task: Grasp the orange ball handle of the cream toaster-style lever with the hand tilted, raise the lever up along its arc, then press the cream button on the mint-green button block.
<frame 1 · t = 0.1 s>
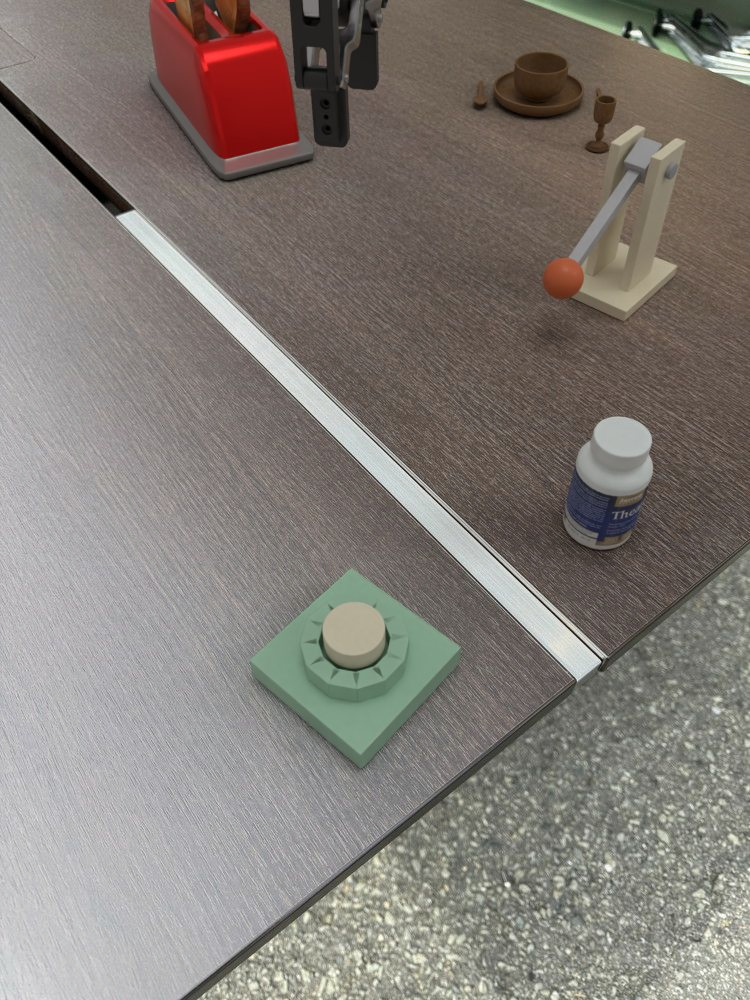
hand: (348, 114, 57), 25 cm above the table, tool pointing down, fingers open, 8 cm apart
place setting: (539, 115, 110), on the table
button: (354, 634, 54), point 5 cm above the table, slide at 0.2 cm
bracket: (615, 282, 86), on the table
lever: (602, 221, 76), point 10 cm above the table, hinge at -30.0°
button block: (356, 670, 57), on the table
pill bottle: (596, 526, 65), on the table
toaster: (227, 119, 111), on the table
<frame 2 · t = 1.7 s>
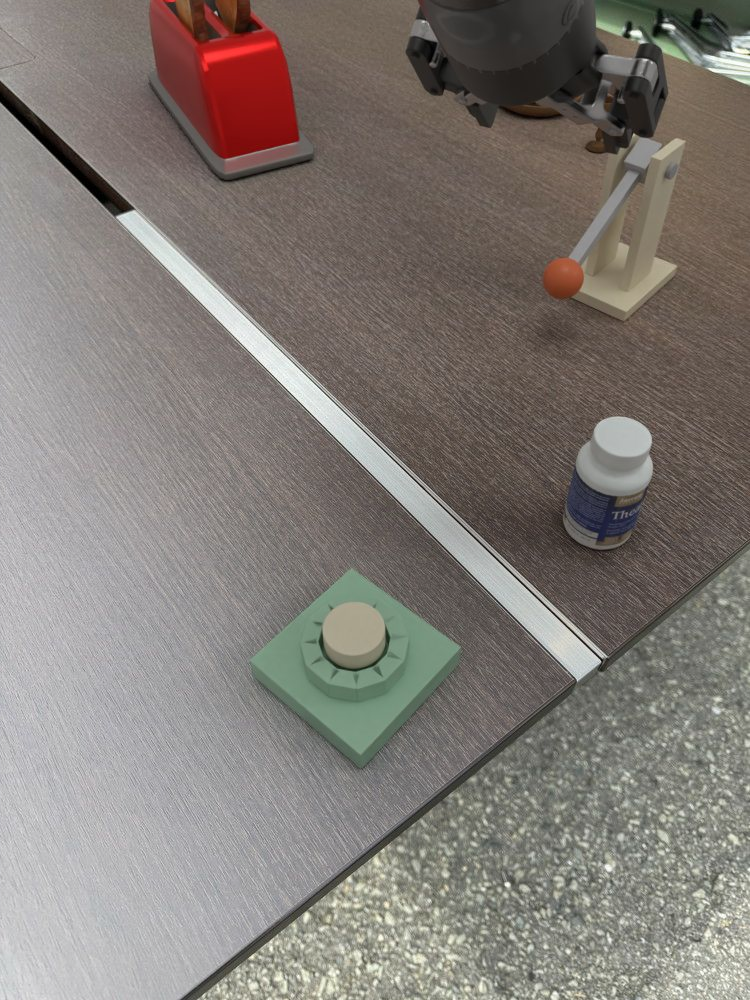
hand: (552, 125, 54), 25 cm above the table, tool tilted 45°, fingers open, 8 cm apart
nothing on the table moved.
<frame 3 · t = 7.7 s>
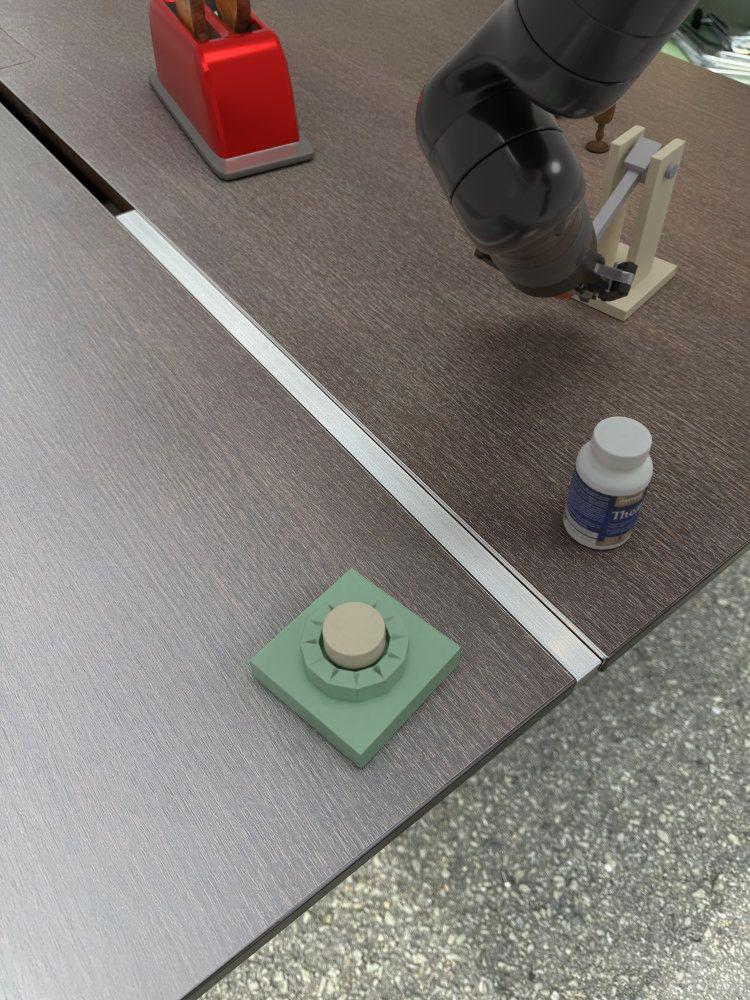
hand: (566, 285, 78), 5 cm above the table, tool tilted 45°, fingers closed on lever, 3 cm apart
lever: (602, 221, 76), point 10 cm above the table, hinge at -30.0°, touching gripper
everything else where it was.
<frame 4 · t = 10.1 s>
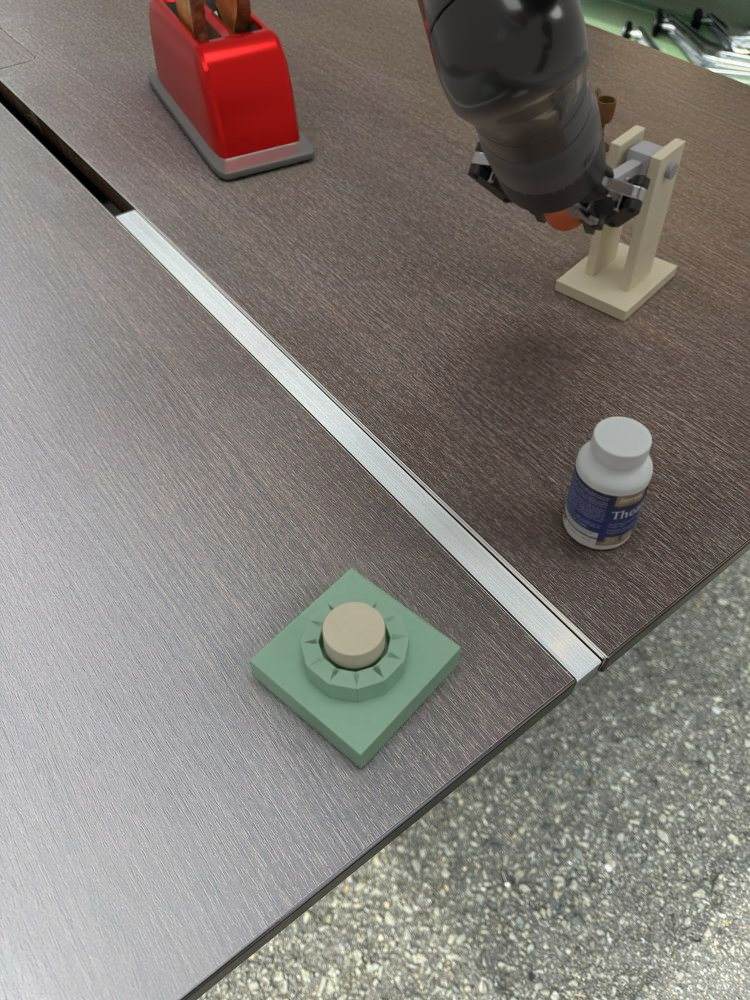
hand: (569, 216, 71), 12 cm above the table, tool tilted 45°, fingers closed on lever, 3 cm apart
lever: (605, 184, 72), point 14 cm above the table, hinge at 5.2°, touching gripper
everything else where it was.
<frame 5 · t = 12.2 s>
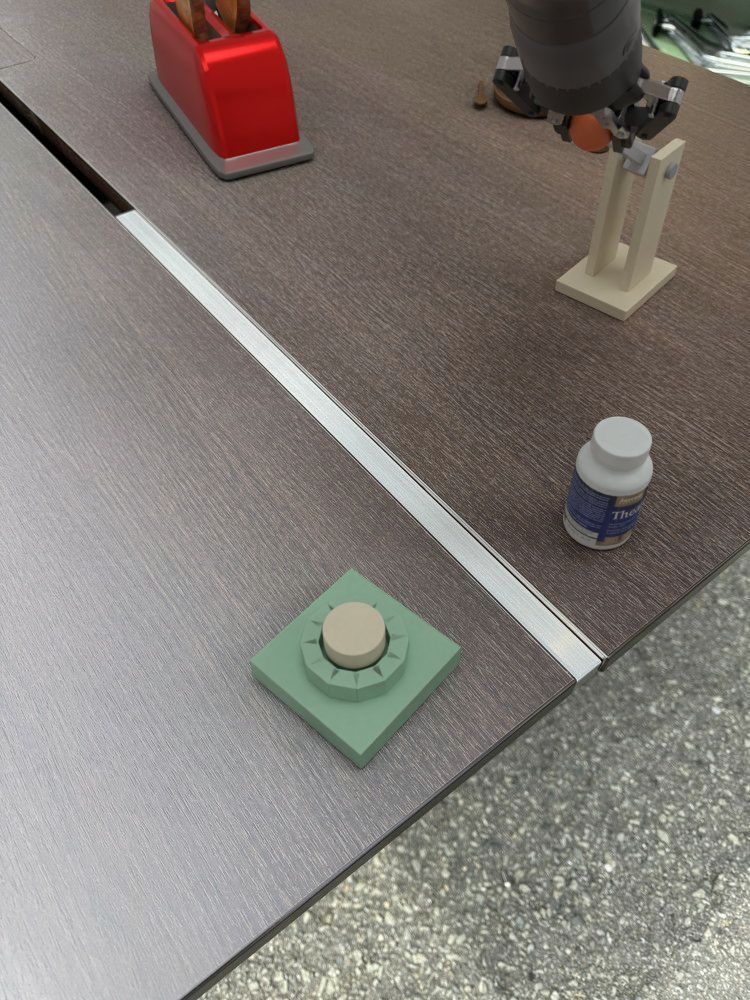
hand: (596, 135, 68), 19 cm above the table, tool tilted 45°, fingers closed on lever, 3 cm apart
lever: (619, 144, 70), point 17 cm above the table, hinge at 33.5°, touching gripper
everything else where it was.
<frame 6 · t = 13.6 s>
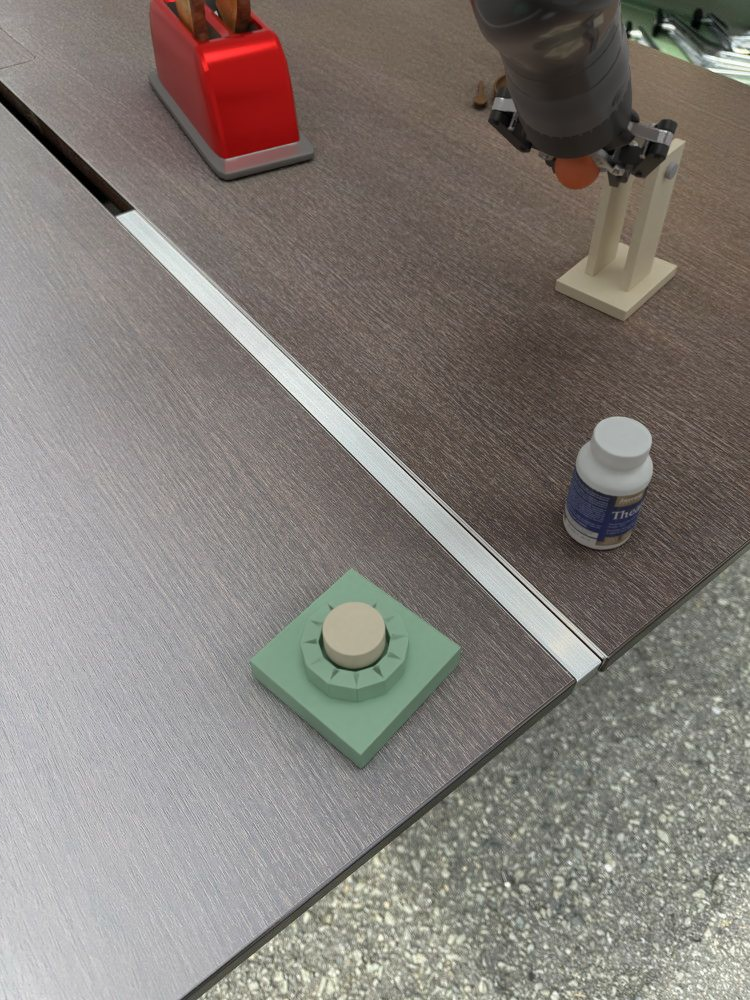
hand: (589, 168, 70), 16 cm above the table, tool tilted 45°, fingers open, 4 cm apart
lever: (612, 163, 71), point 15 cm above the table, hinge at 20.3°
everything else where it was.
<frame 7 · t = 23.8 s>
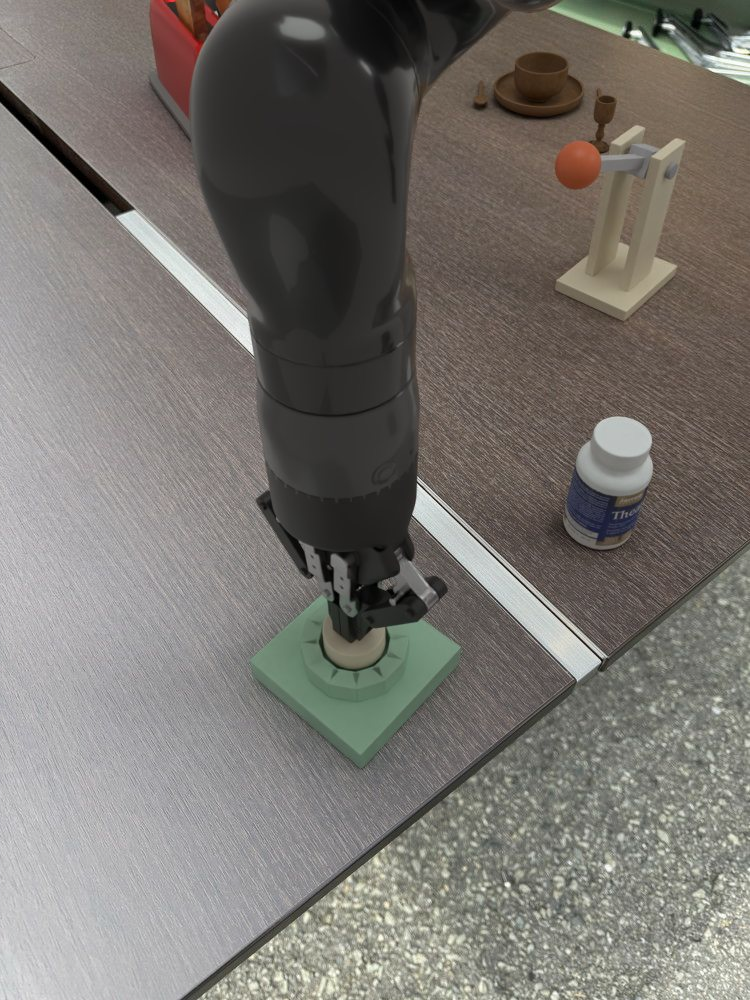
hand: (352, 627, 53), 5 cm above the table, tool pointing down, fingers closed
button: (354, 635, 54), point 4 cm above the table, slide at 0.1 cm, touching gripper
everything else where it was.
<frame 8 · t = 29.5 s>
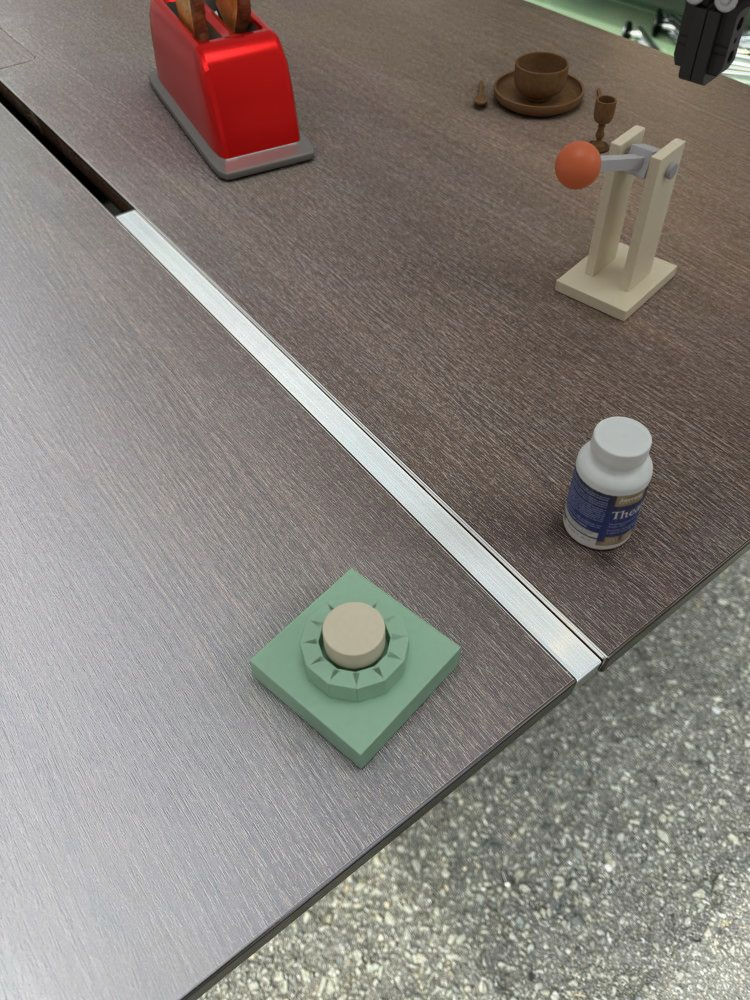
hand: (697, 77, 46), 31 cm above the table, tool pointing down, fingers closed
button: (354, 635, 54), point 5 cm above the table, slide at 0.2 cm
everything else where it was.
at the end: lever at +20° (first picture: -30°); button pushed in 1.1 cm at the most during the clip, back to 0.2 cm at the end; button slide at 0.2 cm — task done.
